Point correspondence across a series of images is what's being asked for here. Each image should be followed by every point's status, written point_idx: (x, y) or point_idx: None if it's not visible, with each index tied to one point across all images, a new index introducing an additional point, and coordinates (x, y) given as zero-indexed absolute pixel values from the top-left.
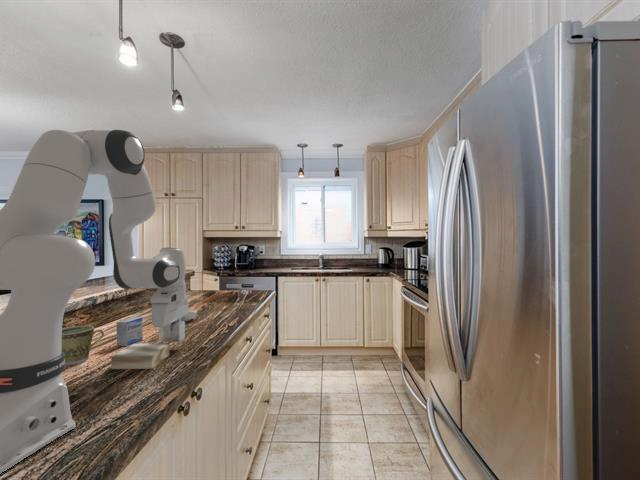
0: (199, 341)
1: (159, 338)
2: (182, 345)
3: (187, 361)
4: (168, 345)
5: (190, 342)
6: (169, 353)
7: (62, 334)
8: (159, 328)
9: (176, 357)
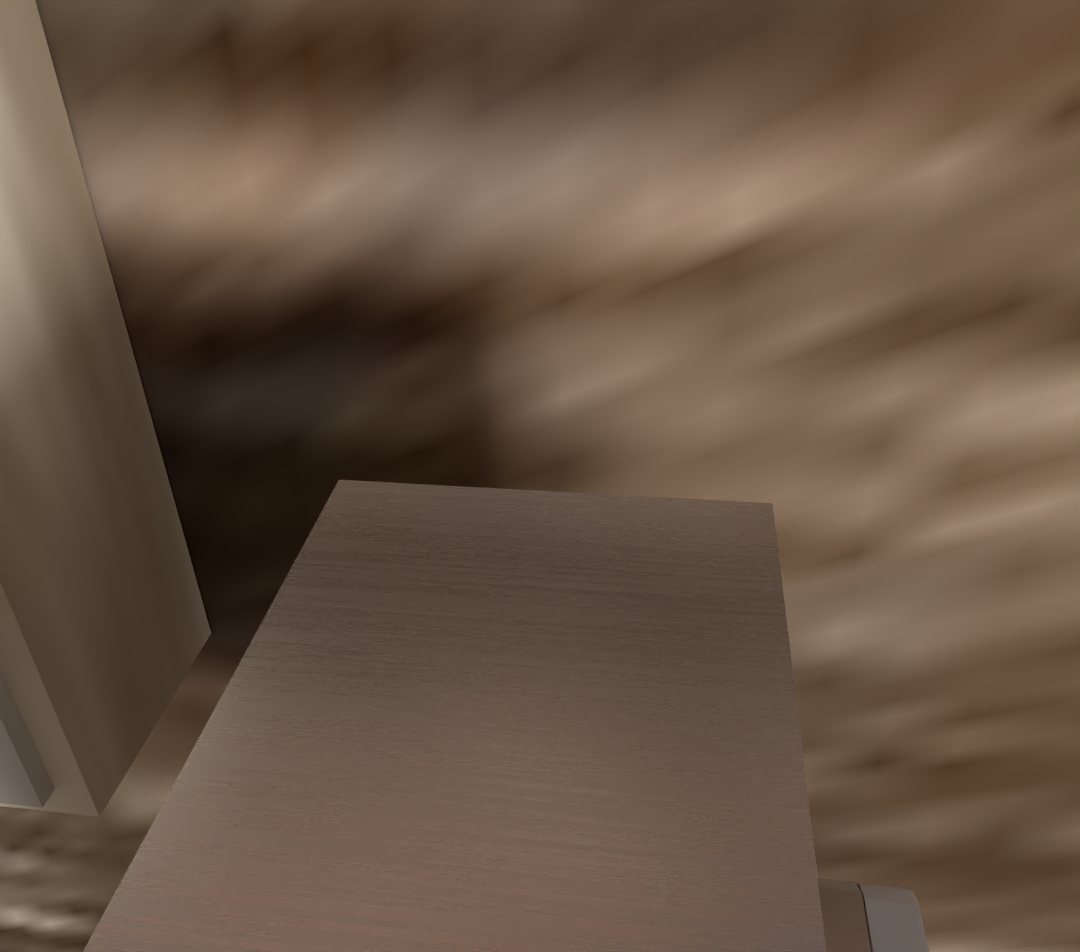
0: (1035, 884)
1: (301, 565)
2: (810, 682)
3: (55, 886)
4: (66, 794)
5: (1010, 768)
6: (194, 658)
7: None
8: (145, 874)
9: (149, 748)
